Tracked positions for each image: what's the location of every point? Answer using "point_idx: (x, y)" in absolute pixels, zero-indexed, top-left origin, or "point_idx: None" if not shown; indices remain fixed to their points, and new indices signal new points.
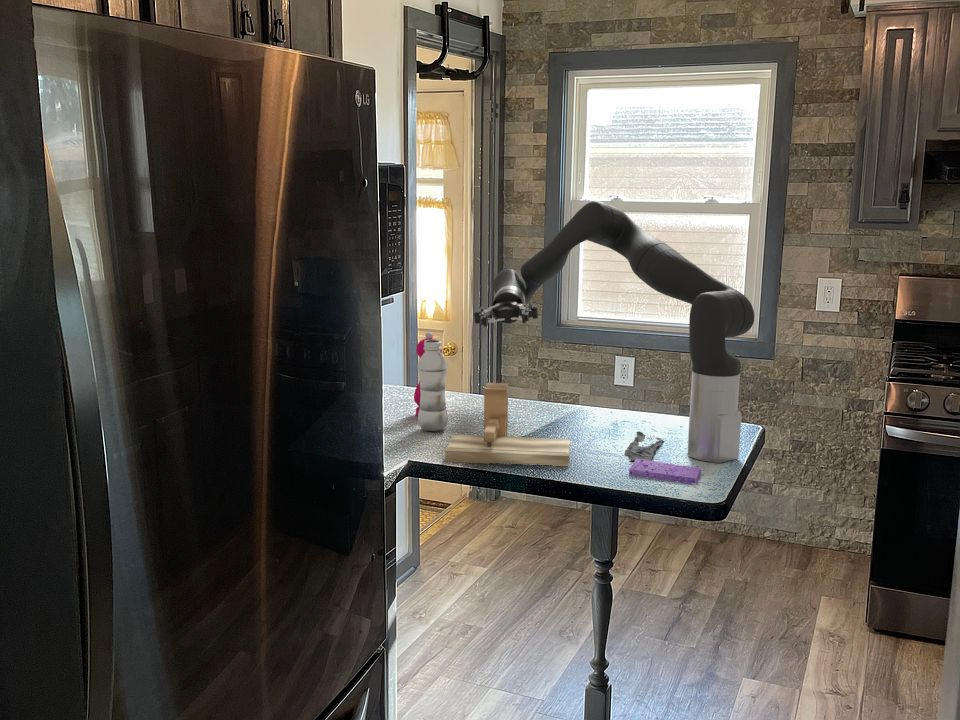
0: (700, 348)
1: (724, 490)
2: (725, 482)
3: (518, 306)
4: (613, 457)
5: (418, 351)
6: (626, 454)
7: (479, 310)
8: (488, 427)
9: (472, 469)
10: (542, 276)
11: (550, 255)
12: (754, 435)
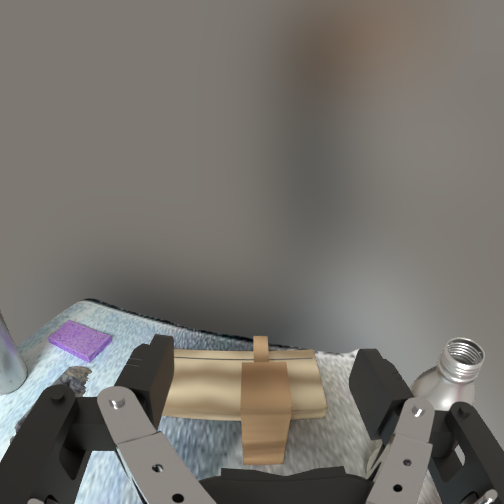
0: None
1: (60, 315)
2: (47, 326)
3: (164, 439)
4: (101, 384)
5: None
6: (82, 391)
7: (474, 444)
8: (264, 352)
9: (274, 345)
10: None
11: None
12: None
